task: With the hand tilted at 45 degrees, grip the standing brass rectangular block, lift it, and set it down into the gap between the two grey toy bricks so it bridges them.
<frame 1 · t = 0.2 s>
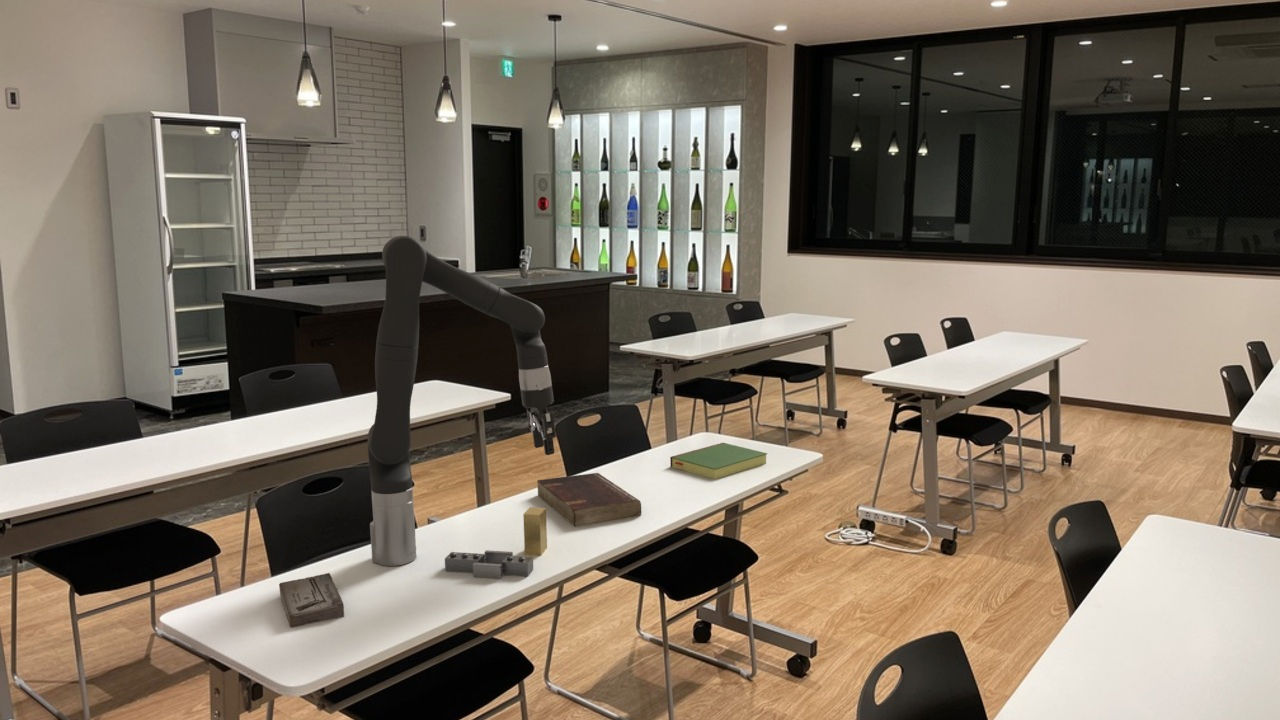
hand: (544, 450, 227), 23 cm above the table, tool pointing down, fingers open, 8 cm apart
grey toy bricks: (493, 570, 212), on the table
hardcover book: (718, 467, 293), on the table
hardback book: (587, 507, 257), on the table
box: (311, 609, 195), on the table
brass rectangular block: (536, 551, 223), on the table
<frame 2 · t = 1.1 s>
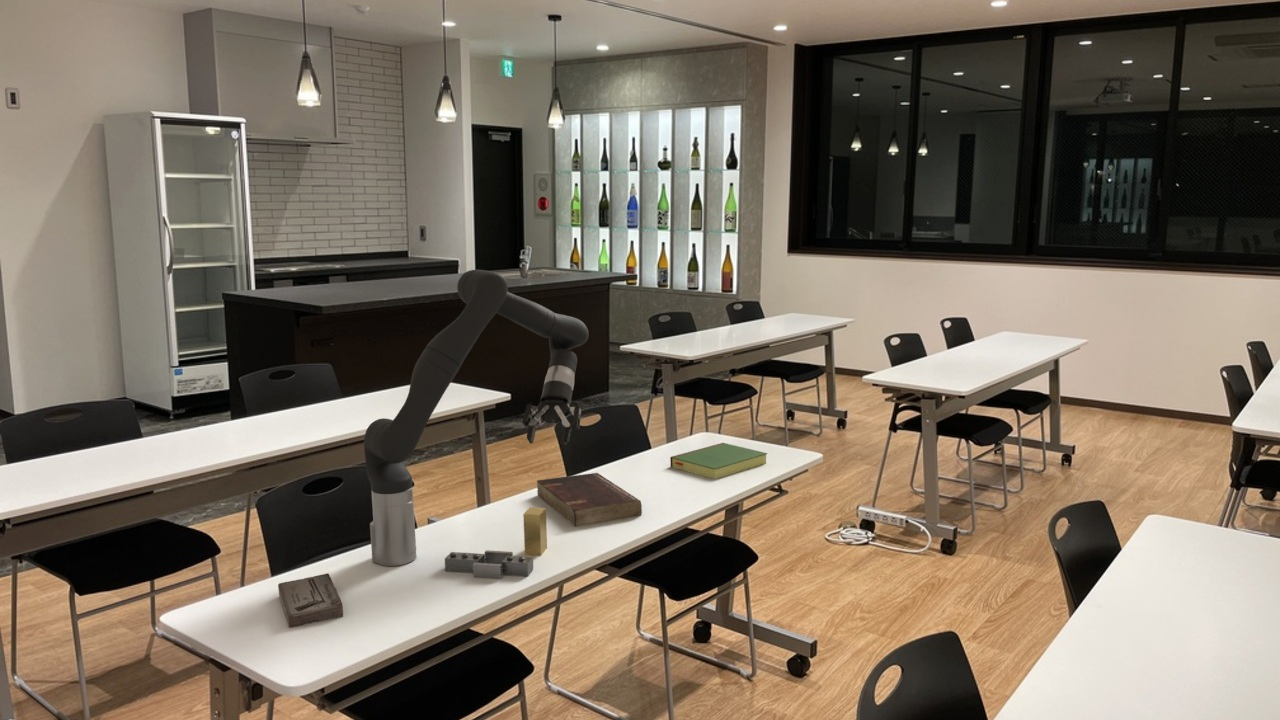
hand: (547, 442, 231), 24 cm above the table, tool tilted 45°, fingers open, 8 cm apart
nothing on the table moved.
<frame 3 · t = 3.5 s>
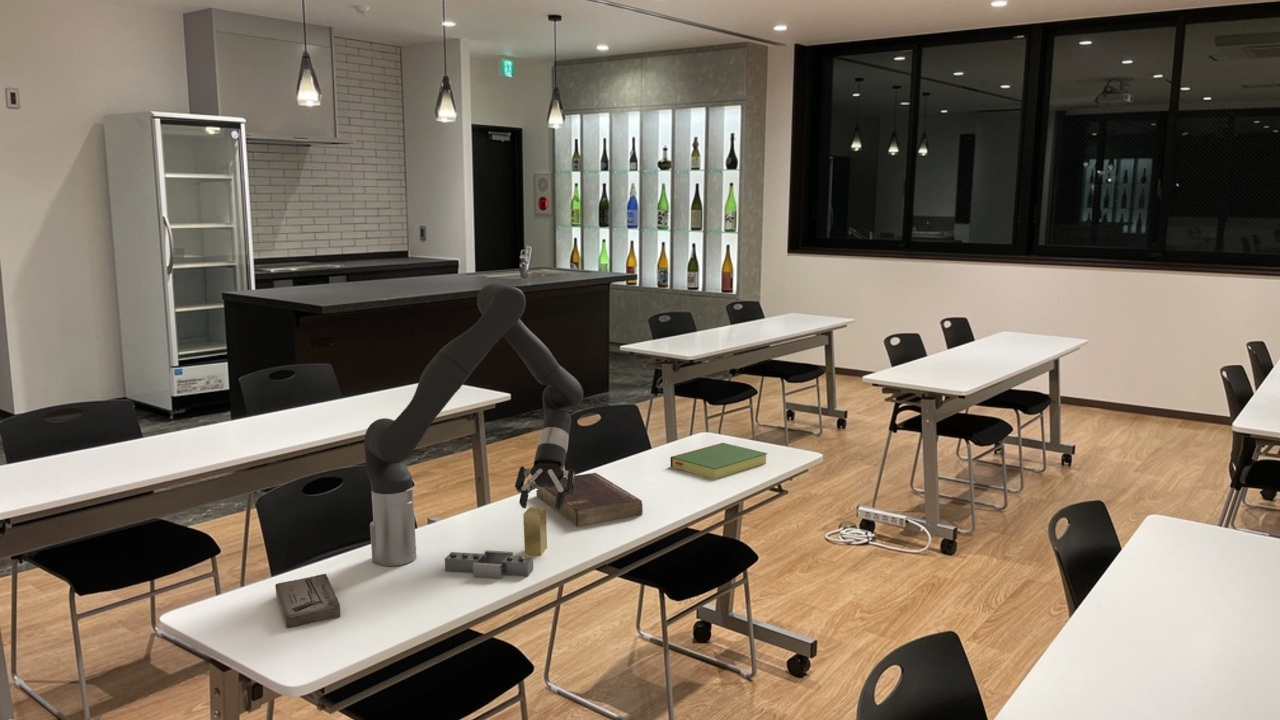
hand: (540, 507, 226), 9 cm above the table, tool tilted 45°, fingers open, 8 cm apart
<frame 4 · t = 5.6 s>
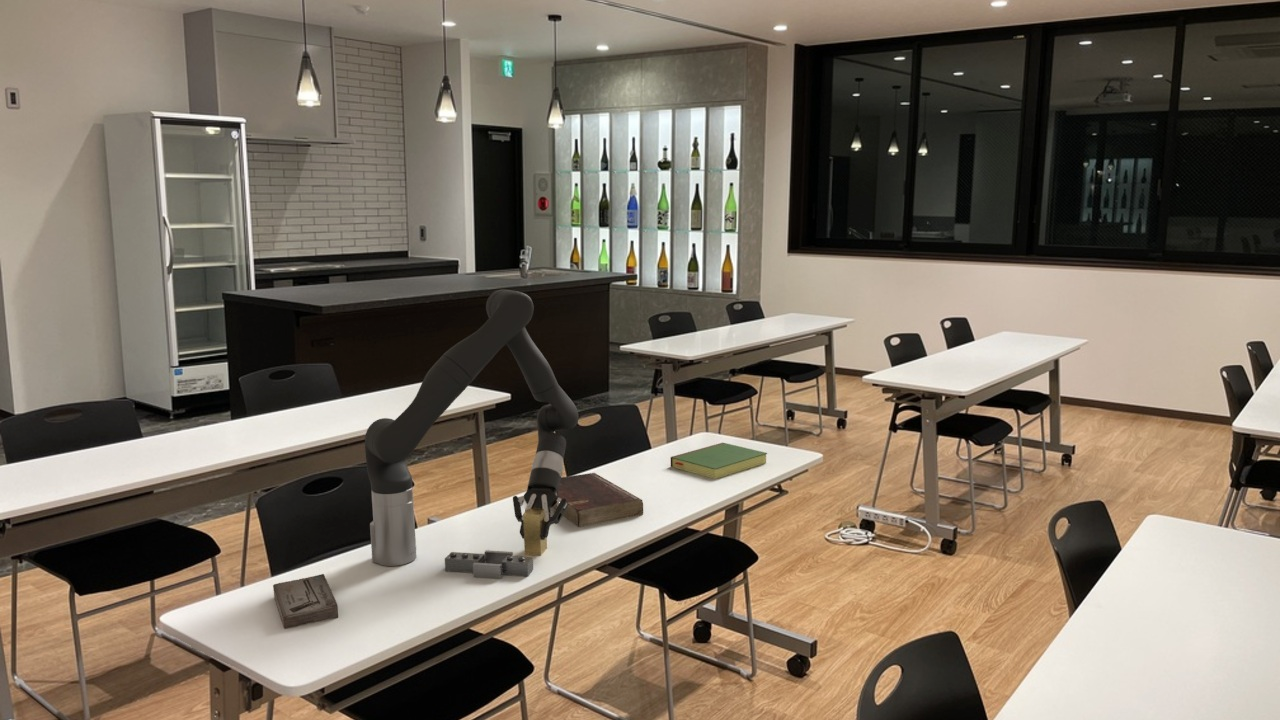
hand: (533, 537, 221), 4 cm above the table, tool tilted 45°, fingers closed on brass rectangular block, 4 cm apart
brass rectangular block: (536, 551, 223), on the table, touching gripper
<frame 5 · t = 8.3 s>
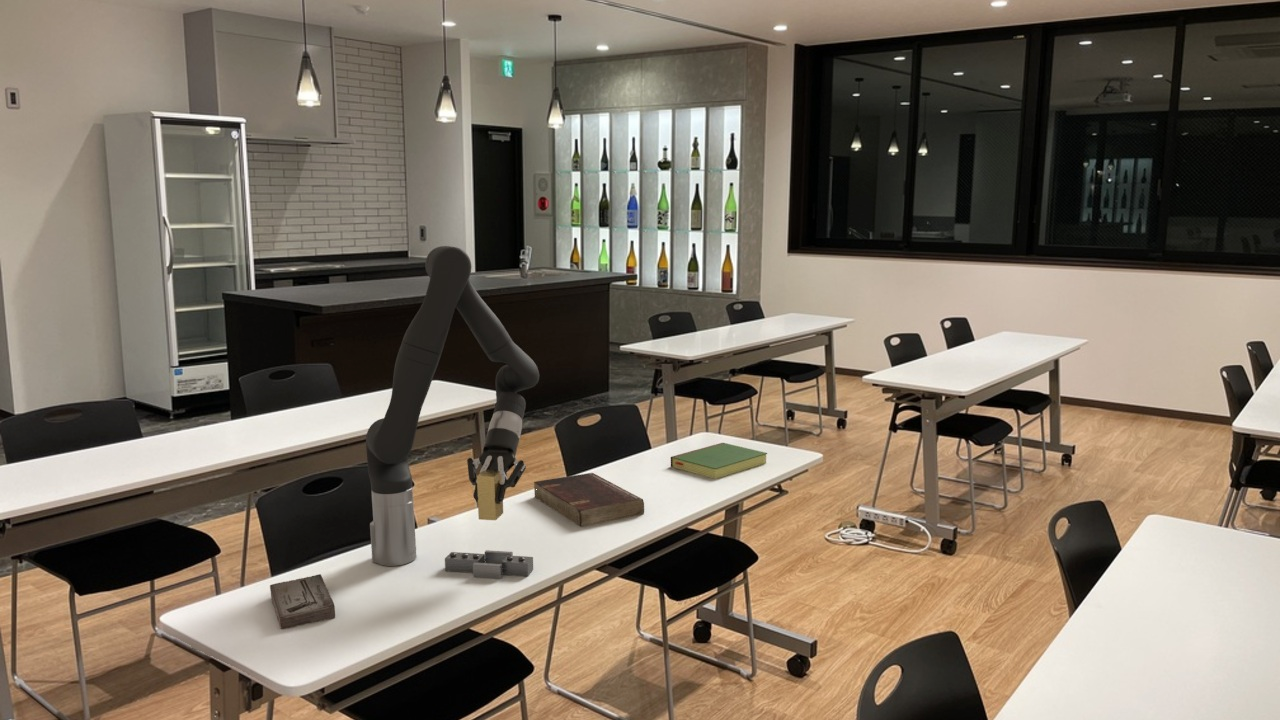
hand: (487, 501, 207), 17 cm above the table, tool tilted 45°, fingers closed on brass rectangular block, 4 cm apart
brass rectangular block: (491, 516, 210), point 13 cm above the table, touching gripper
when the fingers open (6 cm above the table, at t = 10.8 s): brass rectangular block drops 2 cm, on the table.
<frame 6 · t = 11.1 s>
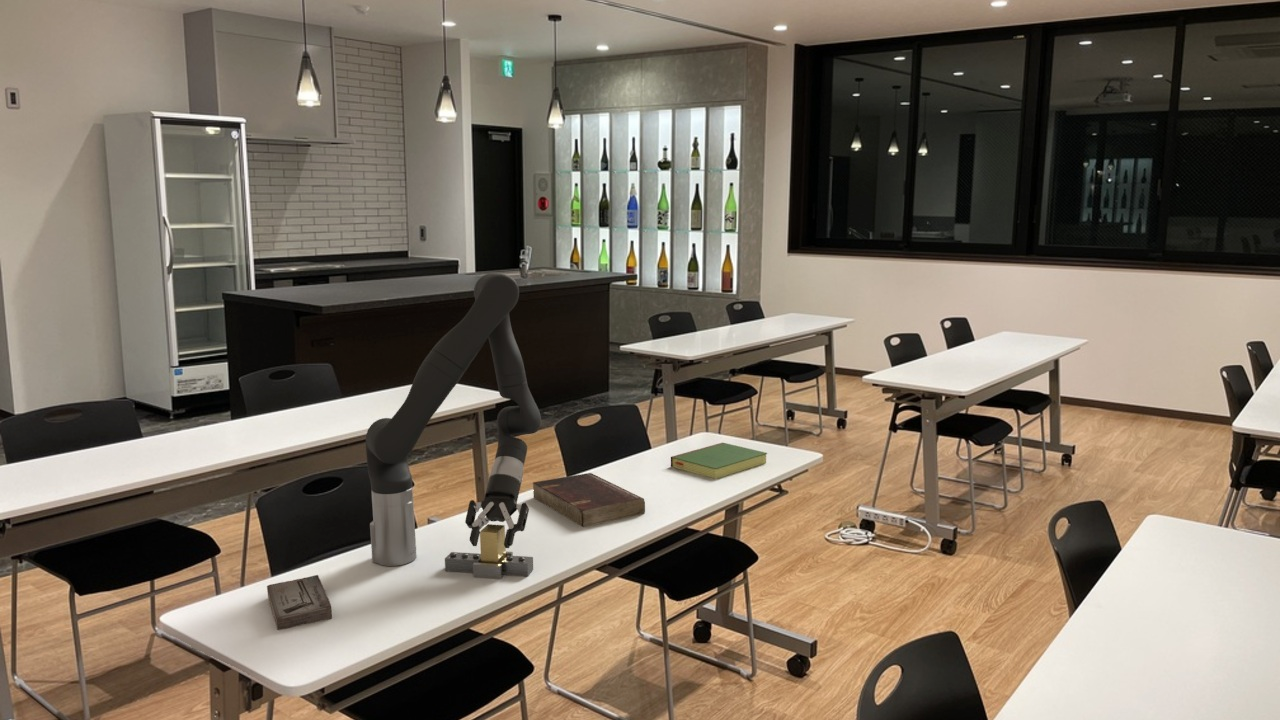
hand: (490, 545, 209), 6 cm above the table, tool tilted 45°, fingers open, 7 cm apart
brass rectangular block: (494, 570, 212), on the table
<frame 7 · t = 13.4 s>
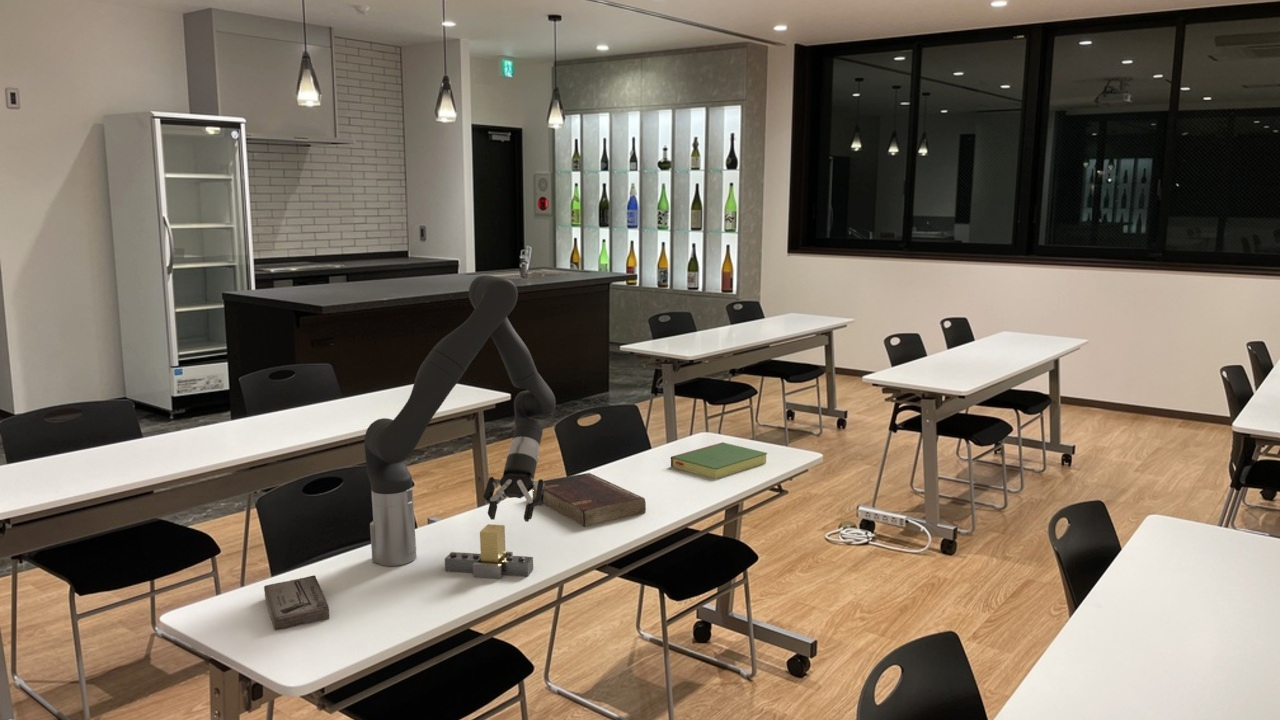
hand: (508, 519, 222), 8 cm above the table, tool tilted 45°, fingers open, 8 cm apart
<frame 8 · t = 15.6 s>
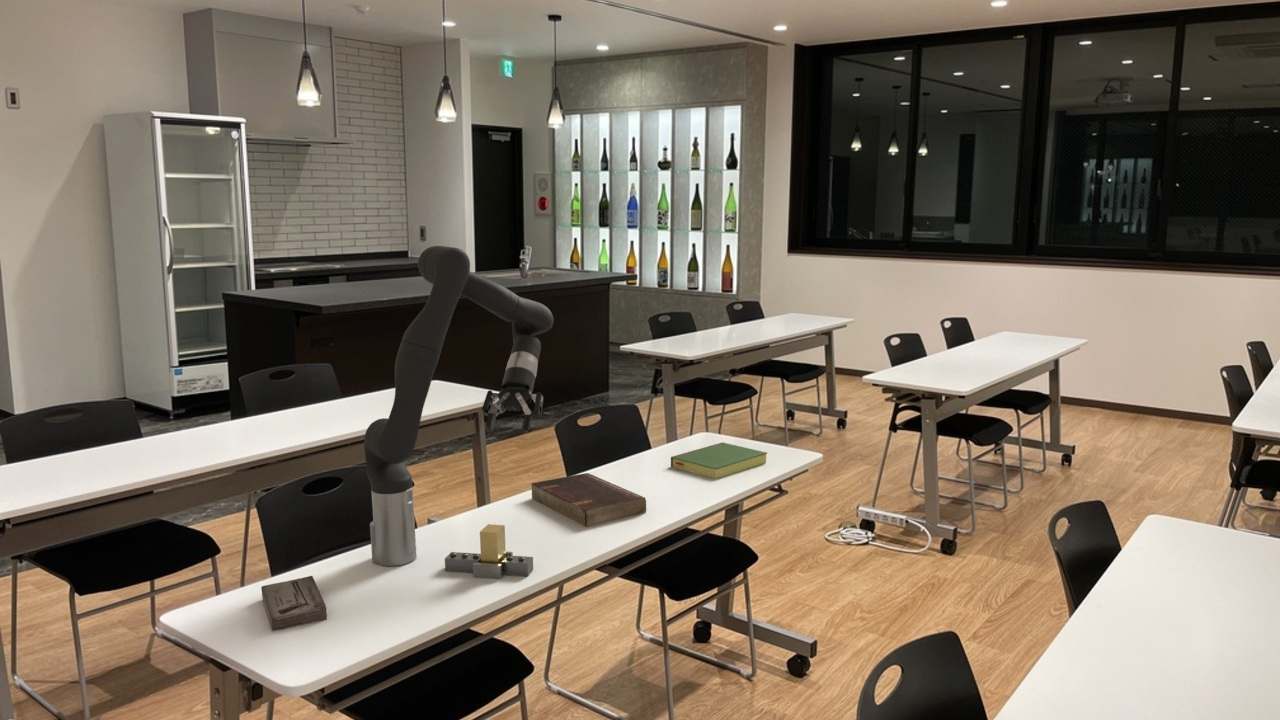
hand: (507, 430, 222), 29 cm above the table, tool tilted 45°, fingers open, 8 cm apart
at the end: brass rectangular block 0.1 cm off-centre on the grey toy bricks, point 0.0 cm above the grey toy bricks's base; brass rectangular block tilted 0°; the gripper is holding nothing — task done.
